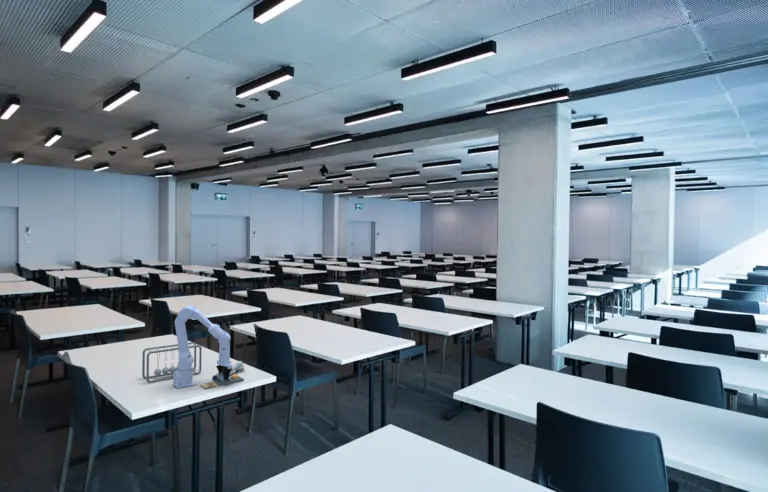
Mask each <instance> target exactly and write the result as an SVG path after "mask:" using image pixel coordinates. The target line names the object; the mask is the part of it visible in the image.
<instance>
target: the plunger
mask: <svg viewBox="0 0 768 492" xmlns="http://www.w3.org/2000/svg"><path fill="white" fill-rule="evenodd" d="M238 376H239V375H238V373H237V374H236V373H233V374H232V375H231V377H232V379H233V380H234V379H238Z"/></svg>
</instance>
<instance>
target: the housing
mask: <svg viewBox="0 0 768 492" xmlns="http://www.w3.org/2000/svg"><path fill="white" fill-rule="evenodd" d="M244 381H245V378H243V377H241V376H240V375H238V379H234V380H233V379H232V376H229V378H228V382H223V383H220V379H218V380H214V381H213V382H214V383H216V384H218V387H223V386H222V385H225V386H228V384H229V385H232V384H238V383H242V382H244Z"/></svg>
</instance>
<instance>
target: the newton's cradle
mask: <svg viewBox="0 0 768 492" xmlns="http://www.w3.org/2000/svg"><path fill="white" fill-rule="evenodd" d="M188 346H189V349H193V352H194V353H193V356H194V357H193V359H194V361H193V376H196V375H200V374H201V373H202V346H201V345H200V344H198V345H197V343H196V342H192V341H191V342H188ZM197 348H199V356H198V357H199V358H198V361H199V365H198V368H199V369H198V371H197V372H196V371H195V370H196V367H197ZM146 351H148V353H147V354H146ZM174 351H178V353H179V347H178V343H175V344H170V345H168V344H167V345H161V346H154V347H145V348H144V349H143V351H142V372H141V373H142V376H141V377H142V378H143V379H146V382H147V383H148V384H152V383H157V382H158V383H159V382H162V381H169V380H173V376H172V375H174V371H176V370H178V369H179V368H178V365H177V366H174V364H171V366H170V367H167V364H164V367H162V370H161V369H160V368H159V365H160V364H159V357H160V355H161V353H163V352H164V353H167V352H174ZM158 353H159V354H158ZM152 354H157V368H155V370H154V371H153V374H154V375H149V373H150V355H152ZM174 355H175V353H172V359H174V357H175V356H174ZM167 356H168V355H167V354H165V360H168V359H167V358H168V357H167ZM145 358H146V359H145ZM145 360H146V361H145ZM145 362H146V363H145ZM145 364H146V365H145ZM145 369H146V374H145ZM145 375H146V376H145ZM170 375H171V376H170ZM165 376H170V377H165ZM158 377H164V378H159V379H154V380H153V378H158ZM151 379H152V380H151Z"/></svg>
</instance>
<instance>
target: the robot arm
mask: <svg viewBox="0 0 768 492" xmlns="http://www.w3.org/2000/svg"><path fill="white" fill-rule="evenodd" d="M189 319H191V320H197V321H198V322H200V323H201V324H203V326H205V327H206V328H207V329H208V330H207V331H208V333H209V334H210V335H212V337H214V338H215V339H216V340H217V343H218V344H219V347H218V360H216V364H217V365H216V366H215V367H216V369H217V371H218V372H217V373H219V376H220V372H222V371H223V377H224V380H228V378H229V377H230V374H231V373H232V372H231V370H232V366H233V365H232V361H230V359H231V357H230V356H231V355H230V352H231V350H230V349H231V347H230V345H231V344H230V341H231V335H230V333H228V332H227V331H226V330H223V329H222V328H221V326H220V324H217V323H213V322H211V321H210V320H209V319H208V318H207V316H205V315H204V314H203V313H202V312H201V311H200V309H198V308H196V306H194V305H193V304H188V305H186V306H185V307H183V308H181V309H180V310H179V311H178V313H177V315H176V318H175V320H174V327H175V333H176V341H177V344H178V346H177V348H178V347H179V352H178V362H177V366H178V368H179V369H178V370H176V371H174V374H172V375H173V376H172V377H173V379H172V380H173V381H172V382H173V384H172V385H173V386H174V387H175V388H177V389H181V388H185V387H191V386H195V385H196V383H195V382H193V378H194V375H193V373H194V370H193V368H194V366H193V364H194V357H193V355H192V353H191V351H190V348H189V346H190V345H188V343H189V340H188V335H187V328H186V322H187V321H188V320H189ZM230 372H231V373H230Z"/></svg>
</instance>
